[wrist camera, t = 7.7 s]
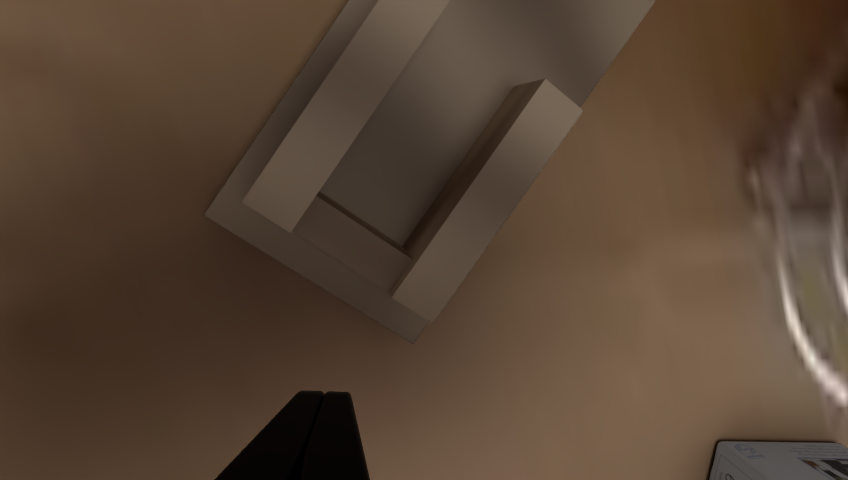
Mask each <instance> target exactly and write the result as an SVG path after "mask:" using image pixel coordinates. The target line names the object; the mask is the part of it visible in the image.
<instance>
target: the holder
mask: <svg viewBox="0 0 848 480" xmlns="http://www.w3.org/2000/svg"><path fill="white" fill-rule="evenodd" d="M655 1H656V0H349V1H348V3H347V4H346V5H345V7H344V8H343V10H342V11H341V13H340V14H339V16H338V17H337V19H336V20H335V22H334V23H333V25H332V26H331V28H330V29H329V31H328V32H327V34H326V35H325V37H324V38H323V39H322V41H321V42H320V44H319V45H318V47H317V48H316V50H315V51H314V53H313V54H312V56H311V57H310V59H309V60H308V62H307V63H306V65H305V66H304V68H303V69H302V71H301V72H300V73H299V75H298V76H297V78H296V79H295V81H294V82H293V84H292V85H291V87H290V88H289V90H288V91H287V93H286V94H285V96H284V97H283V99H282V100H281V102H280V103H279V105H278V106H277V107H276V109H275V110H274V112H273V113H272V115H271V116H270V118H269V119H268V121H267V122H266V124H265V125H264V127H263V128H262V130H261V131H260V133H259V134H258V136H257V137H256V139H255V140H254V141H253V143H252V144H251V146H250V147H249V149H248V150H247V152H246V153H245V155H244V156H243V158H242V159H241V161H240V162H239V164H238V165H237V167H236V168H235V170H234V171H233V173H232V174H231V175H230V177H229V178H228V180H227V181H226V183H225V184H224V186H223V187H222V189H221V190H220V192H219V193H218V195H217V196H216V198H215V199H214V201H213V202H212V204H211V205H210V207H209V208H208V209H207V211H206V212H205V214H204V216H206V217H207V218H209V219H210V220H212V221H214V222H215V223H217V224H219V225H220V226H222V227H223V228H225V229H227V230H228V231H230V232H232V233H233V234H235V235H236V236H238V237H240V238H241V239H243V240H245V241H246V242H248V243H249V244H251V245H253V246H254V247H256V248H258V249H259V250H261V251H262V252H264V253H266V254H267V255H269V256H271V257H272V258H274V259H275V260H277V261H279V262H280V263H282V264H284V265H285V266H287V267H288V268H290V269H292V270H293V271H295V272H297V273H298V274H300V275H302V276H303V277H305V278H306V279H308V280H310V281H311V282H313V283H315V284H316V285H318V286H319V287H321V288H323V289H324V290H326V291H328V292H329V293H331V294H332V295H334V296H336V297H337V298H339V299H341V300H342V301H344V302H345V303H347V304H349V305H350V306H352V307H354V308H355V309H357V310H358V311H360V312H362V313H363V314H365V315H367V316H368V317H370V318H371V319H373V320H375V321H376V322H378V323H380V324H381V325H383V326H384V327H386V328H388V329H389V330H391V331H393V332H394V333H396V334H397V335H399V336H401V337H402V338H404V339H406V340H407V341H409V342H410V343H412V344H414V342H415V341H416V339H417V338H418V336H419V335H420V334H421V332H422V331H423V329H424V328H425V327H426V325H427V324H428V322H429V321H430V322H431V323H434V322H435V320H436V319H437V317H438V316H439V315H440V313H441V312H442V310H443V309H444V308H445V306H446V305H447V303H448V302H449V300H450V299H451V298H452V296H453V295H454V293H455V292H456V291H457V289H458V288H459V286H460V285H461V284H462V282H463V281H464V279H465V278H466V276H467V275H468V274H469V272H470V271H471V269H472V268H473V267H474V265H475V264H476V262H477V261H478V259H479V258H480V257H481V255H482V254H483V252H484V251H485V250H486V248H487V247H488V245H489V244H490V242H491V241H492V240H493V238H494V237H495V235H496V234H497V233H498V231H499V230H500V228H501V227H502V225H503V224H504V223H505V221H506V220H507V218H508V217H509V216H510V214H511V213H512V211H513V210H514V209H515V207H516V206H517V204H518V203H519V201H520V200H521V199H522V197H523V196H524V194H525V193H526V192H527V190H528V189H529V187H530V186H531V184H532V183H533V182H534V180H535V179H536V177H537V176H538V175H539V173H540V172H541V170H542V169H543V167H544V166H545V165H546V163H547V162H548V160H549V159H550V158H551V156H552V155H553V153H554V152H555V151H556V149H557V148H558V146H559V145H560V143H561V142H562V141H563V139H564V138H565V136H566V135H567V134H568V132H569V131H570V129H571V128H572V126H573V125H574V124H575V122H576V121H577V119H578V118H579V117H580V115H581V114H582V112H583V110H582V109H581V108H580V107H581V106H582V104H583V103H584V101H585V100H586V99H587V97H588V96H589V94H590V93H591V91H592V90H593V89H594V87H595V86H596V84H597V83H598V82H599V80H600V79H601V77H602V76H603V75H604V73H605V72H606V70H607V69H608V67H609V66H610V65H611V63H612V62H613V60H614V59H615V58H616V56H617V55H618V53H619V52H620V50H621V49H622V48H623V46H624V45H625V43H626V42H627V41H628V39H629V38H630V36H631V35H632V33H633V32H634V31H635V29H636V28H637V26H638V25H639V24H640V22H641V21H642V19H643V18H644V16H645V15H646V14H647V12H648V11H649V9H650V8H651V7H652V5H653V4H654V2H655Z"/></svg>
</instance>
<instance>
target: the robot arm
mask: <svg viewBox="0 0 848 480" xmlns="http://www.w3.org/2000/svg"><path fill="white" fill-rule="evenodd" d="M215 480H370V478H369V473H368V469H367V464H366V460H365V455H364V451H363V447H362V442H361V438H360V433H359V429H358V424H357V420H356V415H355V411H354V406H353V402H352V398H351V395H350V393H348V392H331V391H330V392H327V393H326V394H324V393H323V392H322V391H300V392H298V393H297V394H296V395H295V396H294V397H293V398H292V399H291V400H290V401H289V402H288V403H287V404H286V405H285V406H284V407H283V408H282V410H281V411H280V412H279V413H278V414H277V415H276V416H275V417H274V418H273V419H272V420H271V421H270V422H269V423H268V424H267V425H266V426H265V427H264V428H263V429H262V430H261V431H260V433H259V434H258V435H257V436H256V437H255V438H254V439H253V440H252V441H251V442H250V443H249V444H248V445H247V446H246V447H245V448H244V449H243V450H242V451H241V452H240V453H239V455H238V456H237V457H236V458H235V459H234V460H233V461H232V462H231V463H230V464H229V465H228V466H227V467H226V468H225V469H224V470H223V471H222V472H221V473H220V474H219V475H218V476H217V478H216V479H215Z"/></svg>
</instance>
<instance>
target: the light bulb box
mask: <svg viewBox="0 0 848 480" xmlns="http://www.w3.org/2000/svg"><path fill="white" fill-rule="evenodd" d="M709 480H848V448H846V447H844V446H843V445H841V444H839V443H806V442H744V441H722V442H719V443H718V445H717V449H716V454H715V458H714V462H713V466H712V470H711V474H710V478H709Z"/></svg>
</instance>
